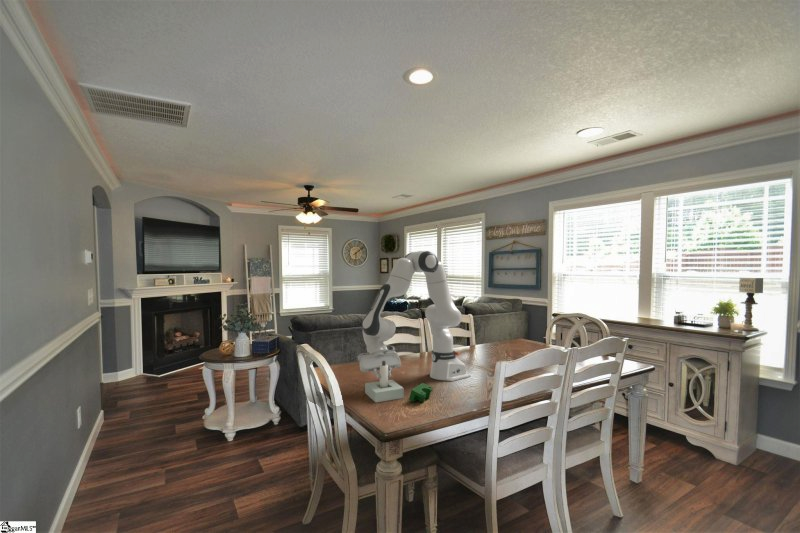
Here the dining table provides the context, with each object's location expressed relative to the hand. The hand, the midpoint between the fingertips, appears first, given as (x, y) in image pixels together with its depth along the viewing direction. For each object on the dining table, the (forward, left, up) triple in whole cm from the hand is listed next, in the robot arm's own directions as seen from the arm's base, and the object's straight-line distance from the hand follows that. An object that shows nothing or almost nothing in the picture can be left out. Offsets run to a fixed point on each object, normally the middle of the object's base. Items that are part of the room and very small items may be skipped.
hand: (384, 377), depth 177 cm
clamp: (-14, +12, -9) cm, 20 cm away
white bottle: (0, -1, -7) cm, 7 cm away
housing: (0, -1, -9) cm, 9 cm away
